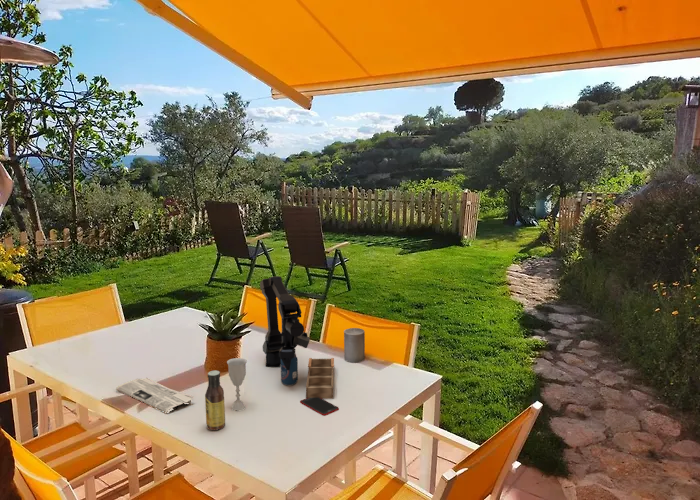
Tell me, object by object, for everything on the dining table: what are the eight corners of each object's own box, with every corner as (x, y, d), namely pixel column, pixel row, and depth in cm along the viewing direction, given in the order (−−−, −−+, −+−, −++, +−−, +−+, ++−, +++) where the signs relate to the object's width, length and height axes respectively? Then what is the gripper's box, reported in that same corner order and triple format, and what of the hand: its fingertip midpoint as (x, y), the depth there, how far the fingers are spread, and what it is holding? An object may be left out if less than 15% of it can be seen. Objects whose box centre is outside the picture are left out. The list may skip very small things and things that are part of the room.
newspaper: (116, 391, 199) (115, 382, 198) (144, 380, 209) (144, 372, 208) (169, 416, 179) (169, 407, 178) (198, 403, 189) (197, 395, 188)
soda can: (277, 382, 207) (277, 355, 205) (290, 377, 212) (290, 350, 210) (288, 387, 202) (288, 359, 200) (301, 382, 207) (301, 355, 205)
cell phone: (315, 397, 195) (315, 394, 194) (339, 410, 184) (339, 408, 184) (299, 403, 189) (299, 400, 189) (323, 417, 179) (323, 414, 179)
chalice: (251, 405, 187) (250, 359, 184) (242, 413, 180) (240, 366, 177) (234, 402, 189) (233, 357, 186) (224, 410, 183) (223, 363, 180)
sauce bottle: (208, 422, 174) (206, 368, 171) (226, 421, 174) (224, 368, 171) (204, 432, 167) (202, 376, 164) (223, 431, 168) (221, 375, 165)
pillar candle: (365, 355, 238) (365, 325, 236) (363, 363, 228) (363, 331, 226) (345, 355, 239) (344, 325, 237) (342, 362, 229) (342, 331, 227)
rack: (305, 398, 192) (305, 386, 191) (309, 368, 222) (309, 357, 221) (333, 398, 193) (333, 386, 192) (333, 368, 222) (333, 357, 222)
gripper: (307, 336, 194) (307, 374, 197) (309, 322, 213) (309, 357, 215) (278, 336, 194) (279, 374, 197) (283, 322, 213) (283, 357, 215)
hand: (289, 365), depth 206 cm, fingers open, 9 cm apart
